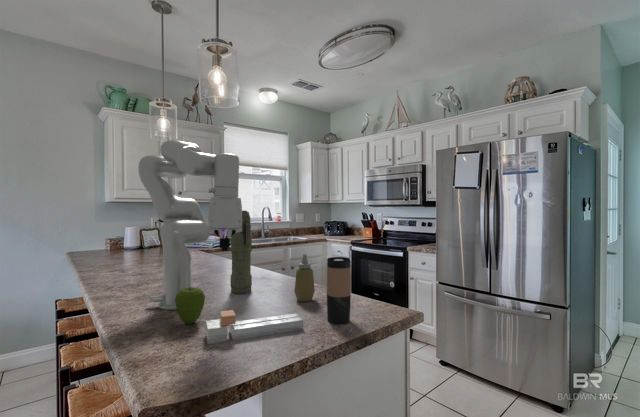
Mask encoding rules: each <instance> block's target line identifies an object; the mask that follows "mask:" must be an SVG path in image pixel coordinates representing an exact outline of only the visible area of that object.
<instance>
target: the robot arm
mask: <svg viewBox="0 0 640 417" xmlns="http://www.w3.org/2000/svg"><path fill="white" fill-rule="evenodd" d="M159 151H160V155H157V154H156V155H155V154H154V155H153V154H150V155H145V156H143V157H141V159H140V160H139V162H138V175H139V179H140V181H141V184H142V185H143V186H144V188H145V189H146V191H147V193H148V194H149V196H150V199H151V203H152V204H153V208H154V210H155V213H156V215H157V217H158V218H159V220H161V221H162V222H164V223H163V224H162V225H161V227H160V233H159V234H160V238H161V246H162V253H163V254H162V255H163V256H162V263H163V266H162V268H163V270H162V272H163V274H162V276H163V278H162V279H163V282H162V284H163V285H162V286H163V287H162V289H163V290H162V291H163V292H162V294H159V295H149V302H152V303H158V302H159V303H158V308H159V309H160V310H167V311H169V310H177V308H176V302H175V298H176V295H177V293H178V292H179V291H180V290H182V289H185V288H192V255H191V253H190V251H189V250H188V248H187V247H186V246H188V245H197V244H203V243H205V242H207V241H208V240H209V237H210V233H212V234H215V235H216V236H217V237H218V238H219V249H221V252H228V249H230V248H231V237H232V236H233V235H234V234H235V233H238V232H242V211H243V205H242V204H243V203H242V198H241V197H239V183H240V182H239V179H240V157H239V156H238V155H237V154H233V153H229V152H228V153H226V152H225V153H222V152H220V153H217V154H212V153H205V152H202V149H201V148H200V146H199V145H197V144H196V143H193V142H188V141H182V140H177V139H168V140H165V141H164V142H163V143H161V145H160V149H159ZM188 175H191V176H195V177H202V178H203V177H204V178H205V177H206V178H213V187H212V188H209V189H208V193H209V194H212V195H213V196H211V197H210V201H209V206H208V217H207V218H208V221H207V219H206V217H205V215H204V213H203V210H202V208H201V206H200V204H199V202H198V201H197V200H195V199H194V198H191V197H179V196H177V195H176V193H175V192H174V189H173V187H172V185H170V183H169V182H167V181H166V180H164V179H165V178H167V179H169V178H170V179H183V178H185V177H186V176H188ZM163 178H164V179H163ZM223 230H226V235H225V236H224V232H223Z"/></svg>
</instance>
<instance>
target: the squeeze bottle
mask: <svg viewBox="0 0 640 417" xmlns="http://www.w3.org/2000/svg"><path fill="white" fill-rule="evenodd" d="M308 260H309V259H308V256H307V254H306V253H303V255H302V259H301V262H299V263H298V268H297V269H296V273H295V283H294V294H295V297H296V300H297V301H299V302H310V301H312V300H313V297H314V294H315V292H316V291H315V280H314V270H313V269H312V268H311V263H310V262H309V261H308Z"/></svg>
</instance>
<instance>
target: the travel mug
mask: <svg viewBox="0 0 640 417" xmlns="http://www.w3.org/2000/svg"><path fill="white" fill-rule="evenodd" d="M326 263H327V264H326V267H327V268H326V307H327V308H326V309H327V310H326V312H327V322H328V323H329V324H331V325H335V326H336V325H338V326H340V325H341V326H342V325H347V324H349V323H350V320H351V319H350V317H351V298H352V297H351V287H352V286H351V285H352V284H351V281H352V280H351V258H350V257H346V256H345V257H344V256H331V257H328V258H327V259H326Z"/></svg>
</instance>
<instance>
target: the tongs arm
mask: <svg viewBox="0 0 640 417" xmlns="http://www.w3.org/2000/svg"><path fill="white" fill-rule="evenodd" d="M295 317H300V316H299V314H298V313H291V314H290V313H289V314H281V315H275V316H267V317H258V318H253V319H251V318H250V319H246V320H245V319H244V320H236V324H230V325H229V334H230V335H231V326H238V325H245V324H252V323H259V322H267V321H274V320H281V319H288V318H295Z"/></svg>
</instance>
